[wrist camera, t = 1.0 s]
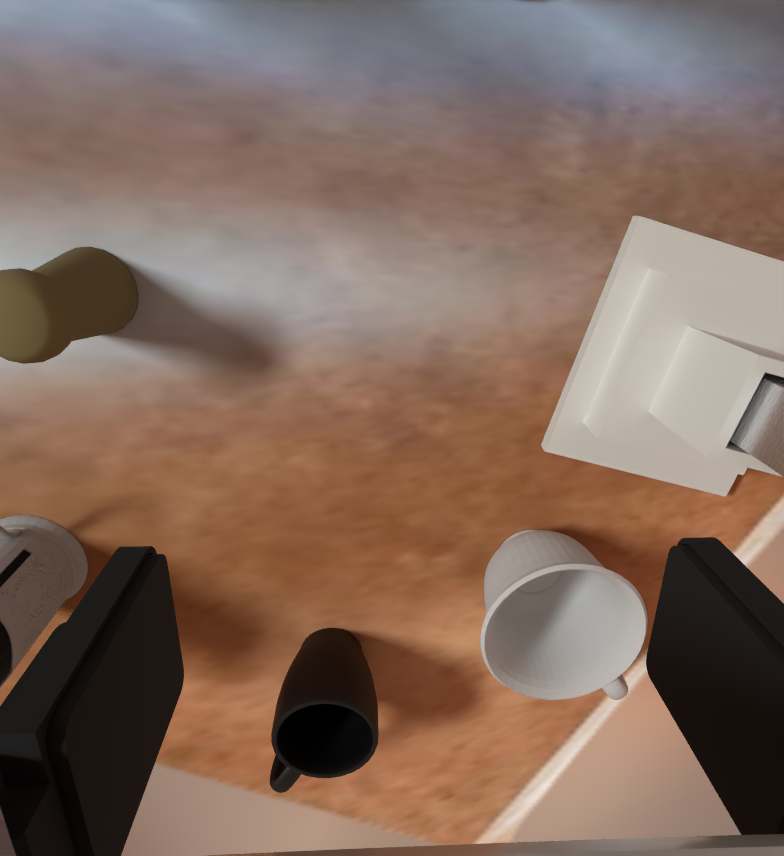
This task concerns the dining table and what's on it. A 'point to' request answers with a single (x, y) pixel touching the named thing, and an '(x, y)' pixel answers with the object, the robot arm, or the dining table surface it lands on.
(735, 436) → the post
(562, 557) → the teacup
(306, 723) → the mug
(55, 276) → the cork
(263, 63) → the dining table surface
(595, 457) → the stand
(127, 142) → the dining table surface
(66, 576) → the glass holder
